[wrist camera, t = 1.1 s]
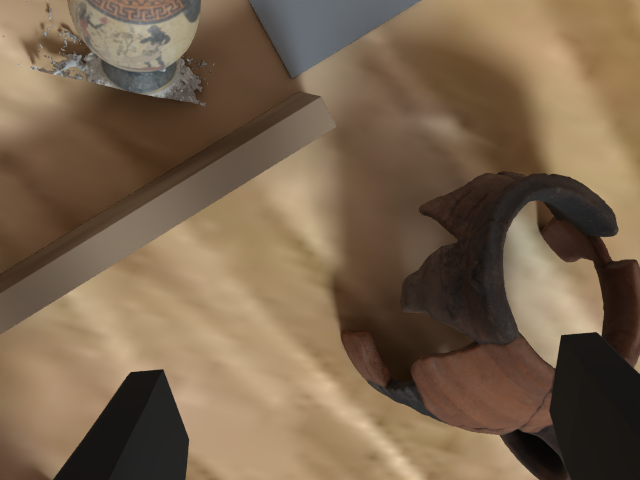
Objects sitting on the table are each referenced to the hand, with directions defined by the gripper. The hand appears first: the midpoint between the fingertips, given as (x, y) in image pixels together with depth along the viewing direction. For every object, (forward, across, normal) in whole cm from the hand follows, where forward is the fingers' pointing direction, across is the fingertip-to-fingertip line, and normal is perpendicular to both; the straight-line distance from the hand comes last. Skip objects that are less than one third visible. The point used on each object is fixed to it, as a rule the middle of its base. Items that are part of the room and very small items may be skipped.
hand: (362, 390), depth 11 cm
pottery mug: (+11, -4, +8) cm, 15 cm away
